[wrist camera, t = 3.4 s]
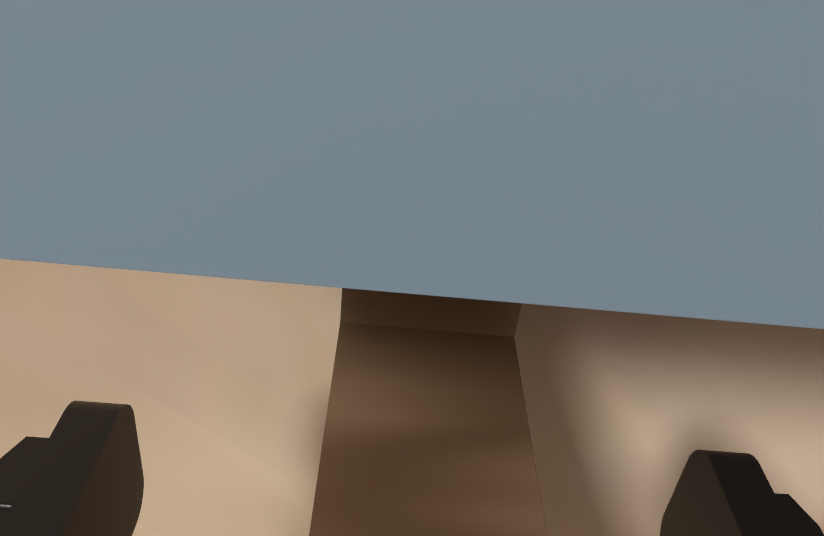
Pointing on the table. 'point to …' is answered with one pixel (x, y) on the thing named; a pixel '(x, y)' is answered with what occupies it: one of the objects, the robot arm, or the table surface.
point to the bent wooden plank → (426, 422)
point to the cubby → (428, 147)
